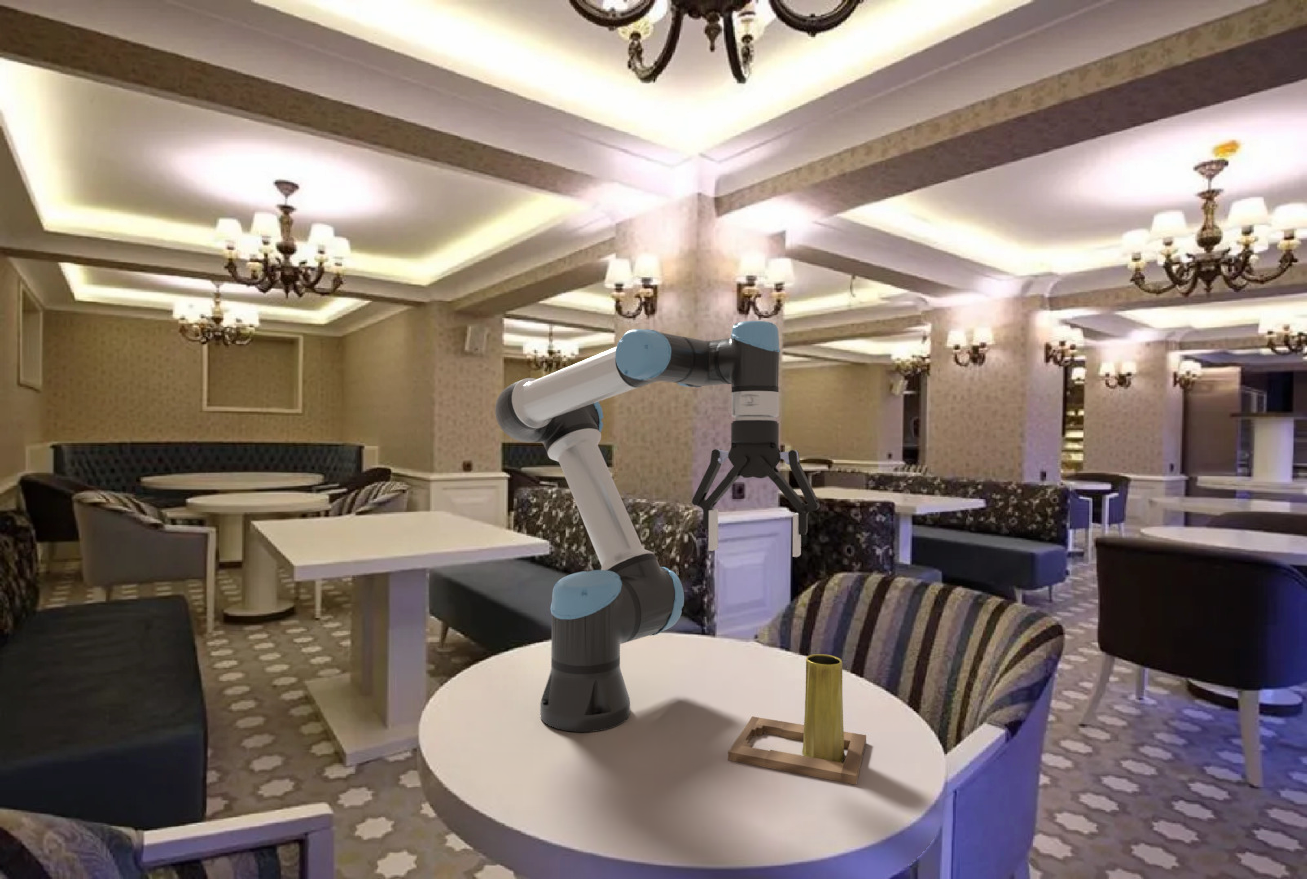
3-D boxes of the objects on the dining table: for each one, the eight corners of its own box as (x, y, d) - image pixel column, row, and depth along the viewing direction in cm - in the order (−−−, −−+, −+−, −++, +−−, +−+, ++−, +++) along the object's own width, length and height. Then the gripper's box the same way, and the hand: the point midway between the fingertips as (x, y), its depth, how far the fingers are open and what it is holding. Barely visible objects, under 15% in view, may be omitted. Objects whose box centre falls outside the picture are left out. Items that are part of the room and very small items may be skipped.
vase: (846, 767, 97) (846, 667, 97) (802, 763, 98) (803, 664, 98) (843, 748, 103) (843, 654, 103) (801, 744, 104) (802, 651, 104)
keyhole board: (728, 759, 99) (728, 751, 99) (752, 723, 112) (752, 716, 112) (856, 784, 92) (856, 775, 92) (866, 742, 105) (866, 735, 105)
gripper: (673, 419, 110) (672, 550, 110) (831, 418, 100) (830, 561, 100) (689, 420, 117) (688, 544, 117) (838, 419, 107) (837, 554, 107)
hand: (753, 552), depth 108 cm, fingers open, 13 cm apart
